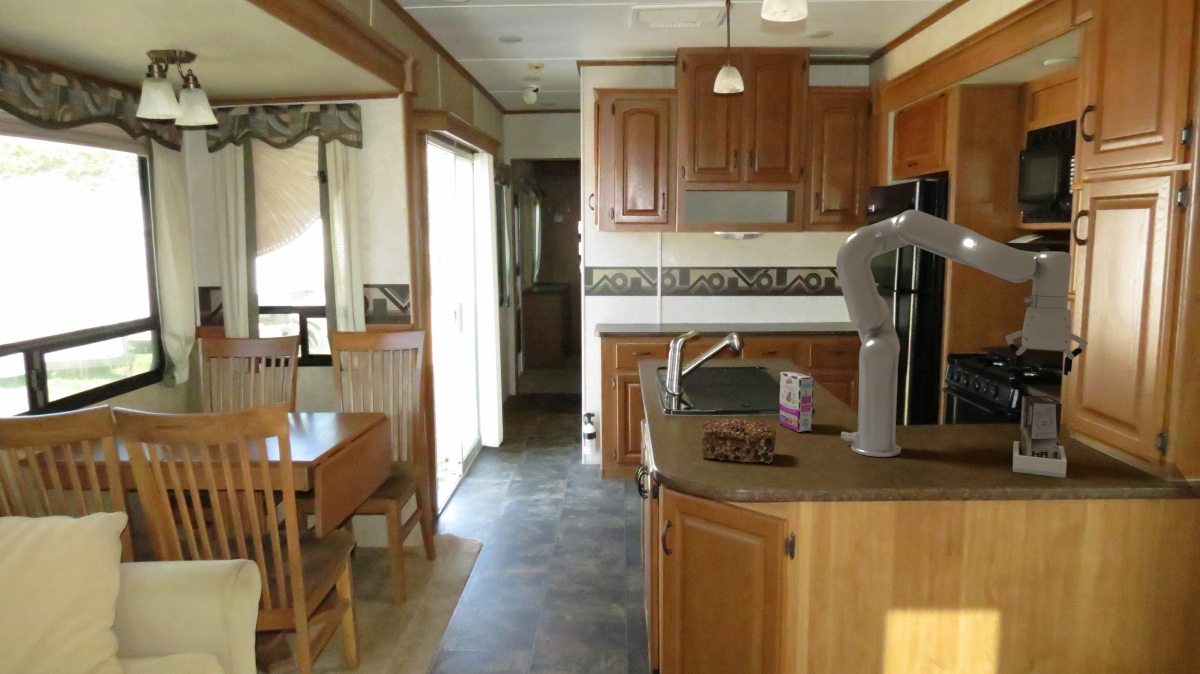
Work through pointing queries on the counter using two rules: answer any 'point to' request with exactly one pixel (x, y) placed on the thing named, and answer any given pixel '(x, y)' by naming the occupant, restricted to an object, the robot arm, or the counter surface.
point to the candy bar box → (796, 401)
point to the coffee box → (1040, 427)
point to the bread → (738, 440)
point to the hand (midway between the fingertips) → (1042, 372)
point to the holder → (1039, 463)
